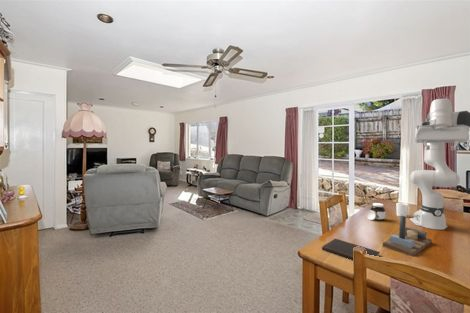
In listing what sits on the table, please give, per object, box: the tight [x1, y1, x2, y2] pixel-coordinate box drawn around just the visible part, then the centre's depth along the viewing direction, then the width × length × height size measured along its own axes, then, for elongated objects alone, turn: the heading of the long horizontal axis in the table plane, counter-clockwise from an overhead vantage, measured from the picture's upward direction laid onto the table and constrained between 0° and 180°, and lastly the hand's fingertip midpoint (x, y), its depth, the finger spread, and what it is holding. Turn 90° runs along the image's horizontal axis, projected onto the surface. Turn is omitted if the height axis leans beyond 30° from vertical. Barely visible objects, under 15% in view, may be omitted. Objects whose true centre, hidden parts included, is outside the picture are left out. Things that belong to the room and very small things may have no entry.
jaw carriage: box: [389, 216, 415, 249], centre depth 125 cm, size 4×10×16 cm, turn 35°
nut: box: [407, 230, 418, 240], centre depth 134 cm, size 5×5×4 cm
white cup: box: [395, 201, 409, 218], centre depth 183 cm, size 8×8×10 cm
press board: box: [382, 226, 432, 257], centre depth 130 cm, size 28×14×6 cm, turn 125°
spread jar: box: [365, 202, 387, 222], centre depth 174 cm, size 12×11×12 cm
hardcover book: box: [321, 238, 381, 261], centre depth 121 cm, size 16×23×2 cm
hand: (440, 149), depth 114 cm, fingers open, 8 cm apart
